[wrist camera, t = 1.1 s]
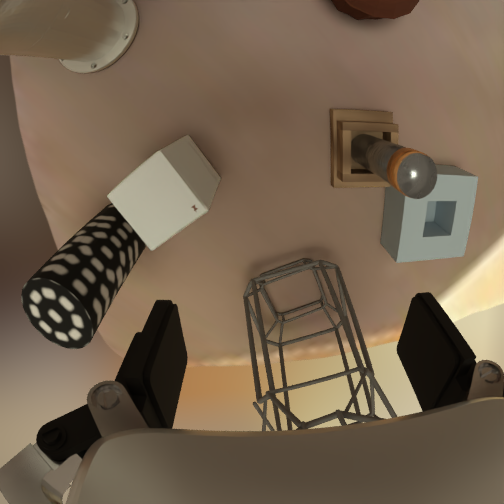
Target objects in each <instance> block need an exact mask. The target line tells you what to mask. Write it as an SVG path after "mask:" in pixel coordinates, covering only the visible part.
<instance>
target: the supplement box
mask: <svg viewBox="0 0 504 504" xmlns="http://www.w3.org/2000/svg"><path fill="white" fill-rule="evenodd" d="M220 180H221V178H220V176H219V175H218V174H217V172H216V171H215V170H214V168H213V167H212V166H211V164H210V163H209V161H208V160H207V159H206V158H205V156H204V155H203V154H202V152H201V151H200V150H199V148H198V147H197V145H196V144H195V143H194V141H193V140H192V139H191V138H190V136H189V135H186V136H184V137H182V138H180V139H179V140H177V141H175V142H173V143H171V144H170V145H168V146H166V147H164V148H163V149H161V150H159V151H157V152H156V153H155V154H153V155H152V156H151V157H149V158H148V159H147V160H146V161H144V162H143V163H142V164H141V165H139V166H138V167H137V168H136V169H135V170H134V171H133V172H131V173H130V174H129V175H128V176H127V177H126V178H125V179H124V180H123V181H121V182H120V183H119V184H118V185H117V186H116V187H115V188H114V189H113V190H112V191H111V192H110V193H109V194H108V195H107V197H108V198H109V200H110V201H111V202H112V203H113V205H114V206H115V207H116V208H117V210H118V211H119V212H120V213H121V214H122V216H123V217H124V218H125V219H126V221H127V222H128V223H129V224H130V225H131V227H132V228H133V229H134V230H135V232H136V233H137V234H138V235H139V237H140V238H141V239H142V240H143V242H144V243H145V244H146V245H147V246H148V248H149V249H150V250H154V249H156V248H157V247H158V246H160V245H161V244H162V243H164V242H165V241H167V240H168V239H169V238H171V237H172V236H174V235H175V234H177V233H178V232H180V231H181V230H182V229H184V228H185V227H186V226H188V225H189V224H191V223H192V222H193V221H195V220H196V219H198V218H199V217H201V216H202V215H204V214H205V213H207V212H208V211H209V208H210V206H211V203H212V200H213V198H214V195H215V193H216V190H217V187H218V185H219V182H220Z"/></svg>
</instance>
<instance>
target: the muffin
mask: <svg viewBox="0 0 504 504" xmlns="http://www.w3.org/2000/svg"><path fill="white" fill-rule="evenodd" d="M332 2H333V3H334V5H335V6H336V8H337V10H338V11H341V12H343V13H346V14H348V15H350V16H352V17H353V18H355V19H357V20H361V19H381V18H391V19H395V18H398V17H400V16H403V15H406V14H409V13H411V11H412V10H413V9H414V7H415V6H416V5H417V3H418V2H419V0H332Z"/></svg>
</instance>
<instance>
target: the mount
mask: <svg viewBox="0 0 504 504" xmlns="http://www.w3.org/2000/svg"><path fill="white" fill-rule="evenodd" d="M330 127H331V185H332V186H333V187H334V188H348V187H390V184H389V183H388V182H386V181H385V180H383V179H382V178H380V177H379V176H377V175H376V174H374V173H372V172H371V171H369V170H368V169H366V168H365V167H363V166H361V165H360V164H358V163H357V162H355V161H354V160H353V159H352V157H351V141H352V140H353V138H354V137H356V136H357V135H360V134H368V135H371V136H374V137H377V138H380V139H383V140H386V141H389V142H392V143H395V144H397V145H398V124H393V112H384V111H369V110H349V109H330Z"/></svg>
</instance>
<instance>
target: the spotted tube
mask: <svg viewBox="0 0 504 504" xmlns="http://www.w3.org/2000/svg"><path fill="white" fill-rule="evenodd" d="M145 247H146V244H145V243H144V242H143V240H142V239H141V238H140V237H139V235H138V234H137V233H136V232H135V230H134V229H133V228H132V227H131V225H130V224H129V223H128V222H127V221H126V219H125V218H124V217H123V216H122V214H121V213H120V212H119V211H118V210H117V208H116V207H115V206H114V205H113V203H111V204H109V205H108V206H106V207H105V208H104V209H103V210H102V211H101V212H99V213H98V214H97V215H96V216H95V217H94V218H93V219H91V220H90V221H89V222H88V223H87V224H86V225H85V226H84V227H82V228H81V229H80V230H79V231H78V232H77V233H76V234H75V235H74V236H73V237H72V238H71V239H69V240H68V241H67V242H66V243H65V244H64V245H63V246H62V247H61V248H60V249H59V250H58V251H57V252H56V253H55V254H54V255H53V256H52V257H51V258H50V259H49V260H48V261H47V262H46V263H45V264H44V265H43V266H42V267H41V268H40V269H39V270H38V271H37V272H36V273H35V274H34V275H33V276H32V277H31V278H30V280H29V281H28V282H27V283H26V284H25V285H24V287H23V289H22V295H21V296H22V304H23V308H24V310H25V313H26V315H27V317H28V318H29V320H30V322H31V323H32V324H33V326H34V327H35V328H36V329H37V330H38V331H39V332H40V333H41V334H42V335H43V336H44V337H46V338H47V339H48V340H50V341H52V342H53V343H55V344H57V345H59V346H62V347H65V348H70V349H79V348H83V347H85V346H86V345H88V344H89V343H90V341H91V340H92V338H93V336H94V334H95V332H96V330H97V328H98V327H99V325H100V323H101V321H102V319H103V318H104V316H105V314H106V312H107V310H108V309H109V307H110V305H111V303H112V302H113V300H114V298H115V296H116V295H117V293H118V291H119V289H120V288H121V286H122V284H123V283H124V281H125V279H126V278H127V276H128V274H129V273H130V271H131V269H132V268H133V266H134V264H135V263H136V261H137V260H138V258H139V256H140V255H141V253H142V252H143V250H144V248H145Z"/></svg>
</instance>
